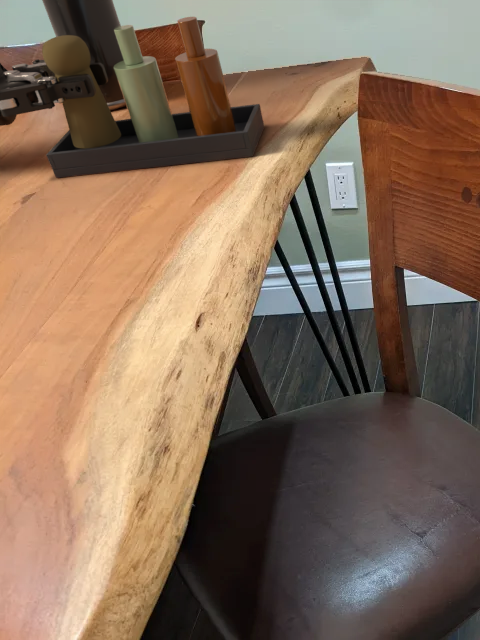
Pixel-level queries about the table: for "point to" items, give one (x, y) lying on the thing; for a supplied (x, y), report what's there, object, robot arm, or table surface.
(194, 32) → the amber bottle
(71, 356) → the table surface
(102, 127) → the olive peg figure
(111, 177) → the table surface
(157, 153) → the tray
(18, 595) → the table surface
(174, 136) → the sage bottle
